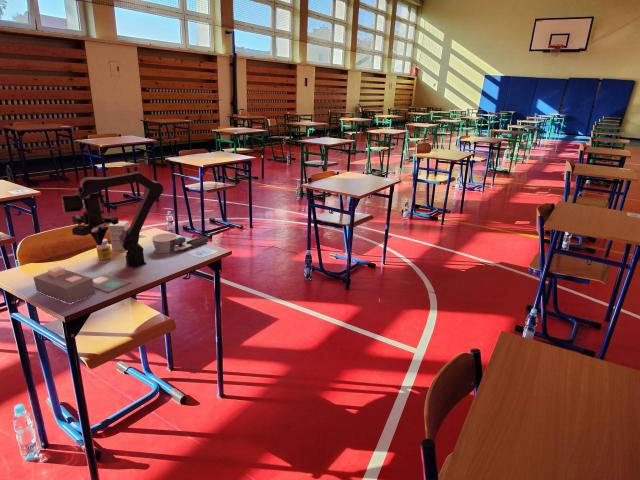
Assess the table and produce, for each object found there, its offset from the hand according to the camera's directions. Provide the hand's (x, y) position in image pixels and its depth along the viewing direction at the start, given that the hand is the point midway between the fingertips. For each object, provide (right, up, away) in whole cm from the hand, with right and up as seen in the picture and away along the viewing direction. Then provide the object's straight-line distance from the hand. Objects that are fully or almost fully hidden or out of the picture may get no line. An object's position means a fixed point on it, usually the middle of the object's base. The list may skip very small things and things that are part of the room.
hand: (99, 244), depth 174 cm
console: (-5, -18, -15) cm, 24 cm away
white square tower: (-5, -2, +31) cm, 31 cm away
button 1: (-8, -13, -14) cm, 21 cm away
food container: (+17, -3, +29) cm, 34 cm away
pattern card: (+7, -15, -7) cm, 18 cm away
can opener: (+28, -2, +34) cm, 44 cm away
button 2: (0, -16, -18) cm, 24 cm away
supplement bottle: (-5, -7, +15) cm, 18 cm away
